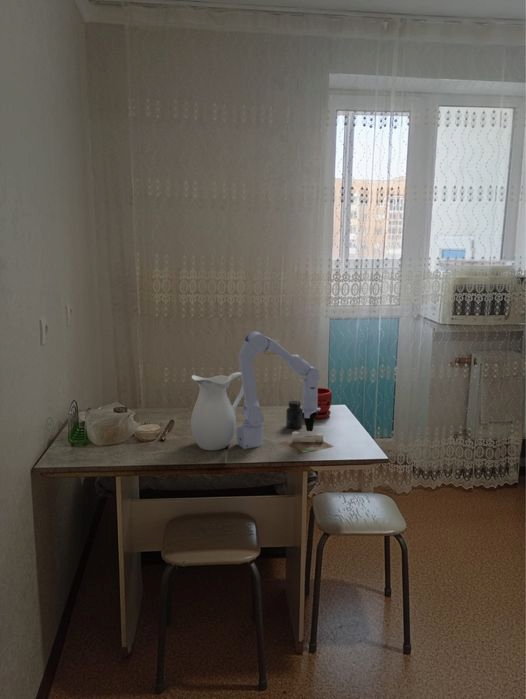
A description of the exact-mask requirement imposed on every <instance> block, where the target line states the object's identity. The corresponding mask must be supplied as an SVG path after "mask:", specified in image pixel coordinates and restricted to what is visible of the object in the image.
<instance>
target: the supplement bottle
mask: <svg viewBox="0 0 526 699" xmlns="http://www.w3.org/2000/svg"><path fill="white" fill-rule="evenodd" d="M285 411H286V415H285V418H286V419H285V428H286V429H289V430H301V429H302V428H303V417H302V413H303V410H302V406H301V402H300V401H298V400H290V401H288V408H286V410H285Z"/></svg>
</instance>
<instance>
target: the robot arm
mask: <svg viewBox="0 0 526 699" xmlns="http://www.w3.org/2000/svg"><path fill="white" fill-rule="evenodd" d="M264 351H267V352H271V351H272V352H274V354H276V355H277V356H279V358H281V359H284V361H285V362H286V363H287V367H288V368H289V369H290V370H292V371H293V372H295V374H297V375H299V376H300V377H301V378H302V406H301V409H302V411H303V413H302V419H303V421H304V423H305V424H304V425H305V428H306V429H305V430H306V431H307V432H313V430H314V426H315V425H314V424H315V421H316V419H317V418H316V416H317V414H318V412H316V411H320V408H317V399H318V388H319V386H318V385H319V384H318V383H319V381H320V378H321V374H320V372H319V370H318V369H317V368H315V367H314V366H313V364H312V363H311V362H308V361H306V359H304V358H303V357H304V356H302V355H301V354H296V353H295V354H291V352H289V351H288V350H287V349H285V348H284V347H283V346H281V345H280V344H279V343H278V342H277V341H276V340H274V339H272V338H270V337H268V336H266V335H265V334H262V333H261V332H260V331H256V330H254V331H253V330H252V331H250V332H249V333H248V334H247V335H246V336H245V337H244V338H243V342H242V345H241V348H240V350H239V352H238V363H239V370H240V373H241V377H240V378H241V386H242V385H243V392H244V395H243V398H244V401H243V408H242V409H243V410H242V416H243V418H244V421H243V424H241V426H238V427H237V429H236V445H237V446H239V447H241V448H242V449H243V450H245V449H246V450H247V449H251V448H258V447H261V446H262V445H263V437H264V436H263V432H264V431H263V423H264V421H265V420H264V419H265V416H264V414H263V412H262V411H261V405H260V403H259V400H258V391H257V384H256V383H257V382H256V377H255V376H256V375H255V370H254V363H253V360H254V359H255V358H256V356H257V355H259V354H260V353H262V352H264Z"/></svg>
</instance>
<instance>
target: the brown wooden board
mask: <svg viewBox="0 0 526 699" xmlns="http://www.w3.org/2000/svg"><path fill="white" fill-rule="evenodd" d="M279 444H280V445H281V446H283V447H285V448H287V449H288V450H290V451H292V452H294V453H295V454H297V455H303V454H307V453H312V452H318V451H321V450H326V449H330V448H334V445H332V444H330V443H328V442H327V441H324V440H323V442H321V443H318V442H300V441H299V442H292V439H291V440H287V441H286V440H285V441H281V442H279Z"/></svg>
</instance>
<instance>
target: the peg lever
mask: <svg viewBox="0 0 526 699" xmlns="http://www.w3.org/2000/svg"><path fill="white" fill-rule="evenodd" d="M300 433H301V432H299V431H292V436H291V438H292V439H291V440H292V442H299V441H300V442H318V443H321V442H323V441H324V434H323V433H320V432H319V433H315V434H314V435H301V434H300Z"/></svg>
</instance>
